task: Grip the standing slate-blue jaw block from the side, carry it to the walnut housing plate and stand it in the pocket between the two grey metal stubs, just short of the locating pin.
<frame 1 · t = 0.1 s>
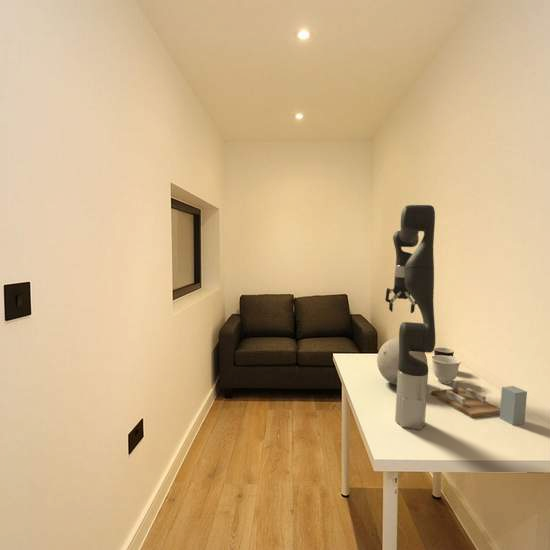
hand: (401, 312, 159), 29 cm above the table, tool pointing down, fingers open, 8 cm apart
teacup: (445, 381, 157), on the table
moon model: (400, 385, 150), on the table
housing plate: (465, 403, 133), on the table
jaw block: (511, 420, 120), on the table
coffee mug: (442, 369, 172), on the table
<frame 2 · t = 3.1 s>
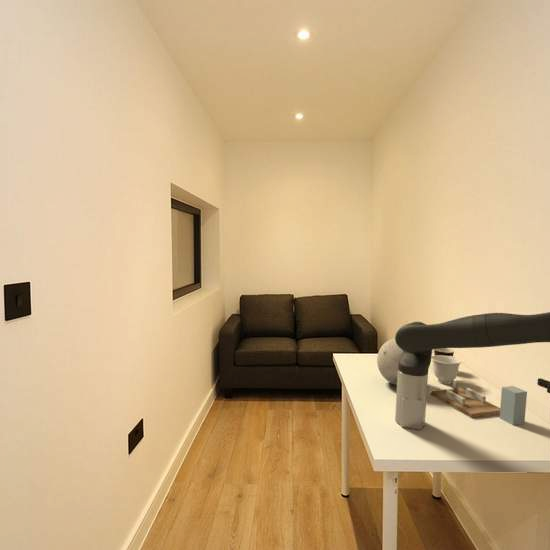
hand: (548, 380, 109), 18 cm above the table, tool horizontal, fingers open, 8 cm apart
nothing on the table moved.
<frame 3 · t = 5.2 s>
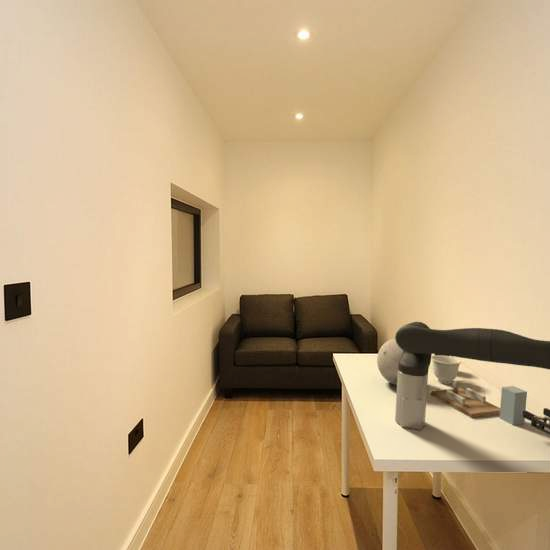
hand: (533, 412, 113), 6 cm above the table, tool horizontal, fingers open, 8 cm apart
nothing on the table moved.
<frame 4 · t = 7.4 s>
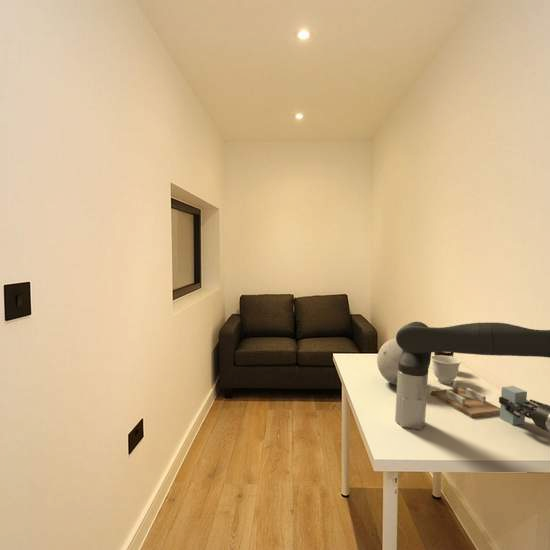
hand: (506, 398, 122), 7 cm above the table, tool horizontal, fingers closed on jaw block, 5 cm apart
jaw block: (511, 420, 120), on the table, touching gripper
everything else where it was.
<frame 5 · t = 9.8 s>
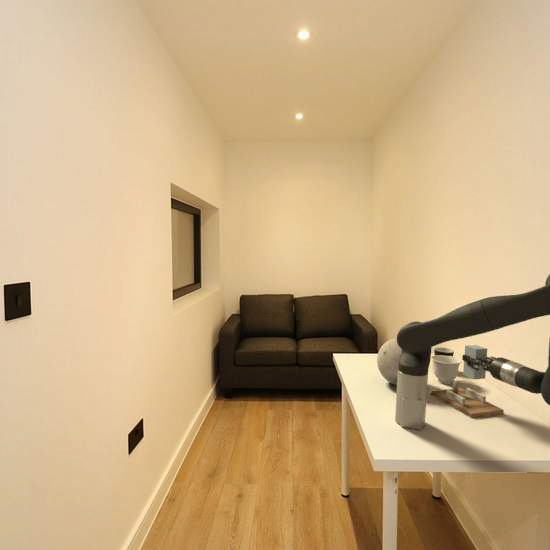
hand: (469, 356, 132), 18 cm above the table, tool horizontal, fingers closed on jaw block, 5 cm apart
jaw block: (474, 376, 130), point 11 cm above the table, touching gripper
everything else where it was.
when the fingers open (9 cm above the table, at t = 12.1 s): jaw block drops 1 cm, resting on housing plate.
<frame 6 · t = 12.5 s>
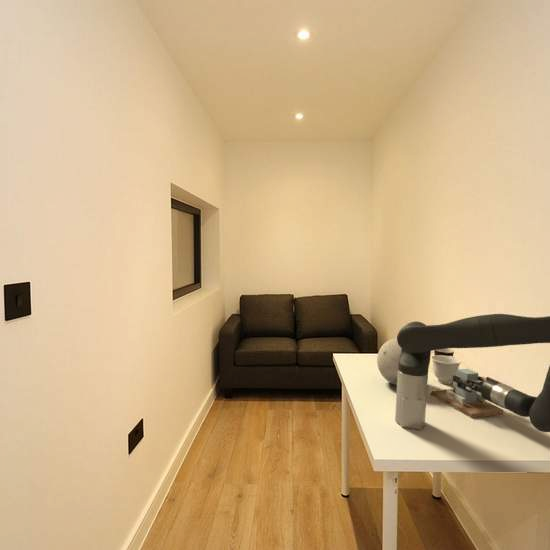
hand: (462, 377, 134), 10 cm above the table, tool horizontal, fingers open, 8 cm apart
jaw block: (465, 399, 133), point 1 cm above the table, touching housing plate
everything else where it was.
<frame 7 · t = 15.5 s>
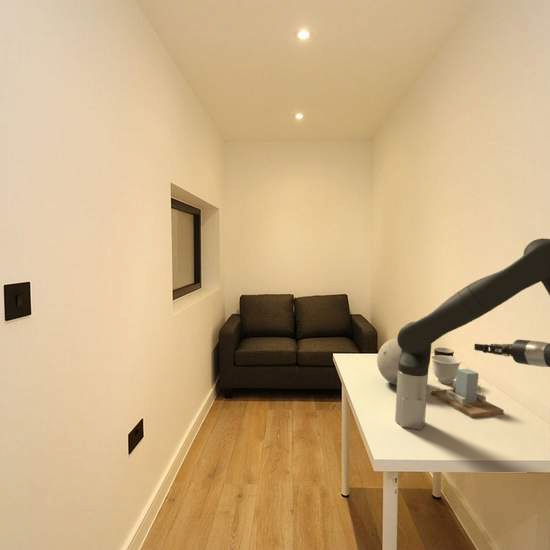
hand: (483, 346, 124), 24 cm above the table, tool horizontal, fingers open, 8 cm apart
nothing on the table moved.
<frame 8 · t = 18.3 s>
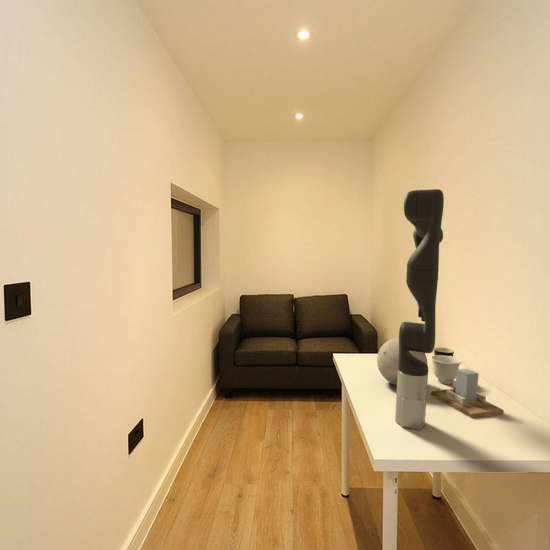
hand: (422, 319, 139), 30 cm above the table, tool pointing down, fingers open, 8 cm apart
nothing on the table moved.
at the end: jaw block inside the target area on the housing plate (0.1 cm from its centre), point 1.5 cm above the housing plate's base; jaw block tilted 0°; the gripper is holding nothing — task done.
